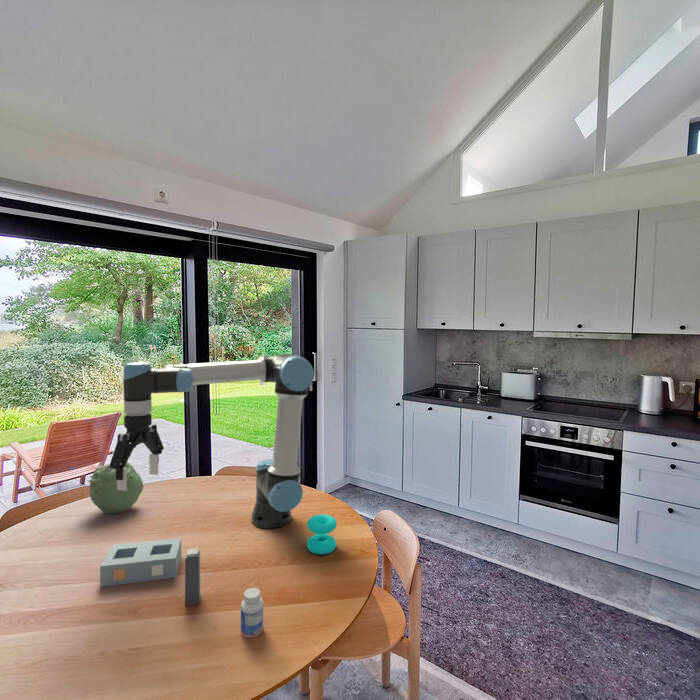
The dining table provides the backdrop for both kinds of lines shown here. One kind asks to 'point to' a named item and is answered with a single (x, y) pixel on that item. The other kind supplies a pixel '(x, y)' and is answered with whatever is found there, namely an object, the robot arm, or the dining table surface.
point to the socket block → (141, 562)
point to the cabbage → (114, 489)
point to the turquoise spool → (321, 534)
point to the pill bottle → (252, 613)
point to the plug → (192, 577)
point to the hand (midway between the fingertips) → (138, 481)
